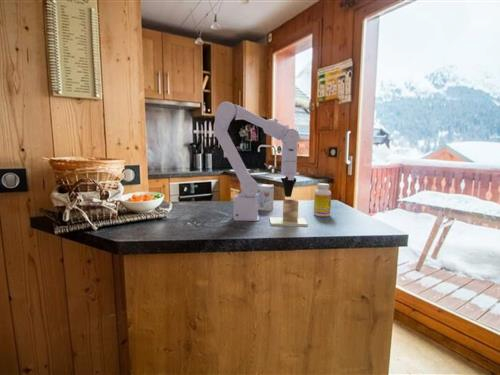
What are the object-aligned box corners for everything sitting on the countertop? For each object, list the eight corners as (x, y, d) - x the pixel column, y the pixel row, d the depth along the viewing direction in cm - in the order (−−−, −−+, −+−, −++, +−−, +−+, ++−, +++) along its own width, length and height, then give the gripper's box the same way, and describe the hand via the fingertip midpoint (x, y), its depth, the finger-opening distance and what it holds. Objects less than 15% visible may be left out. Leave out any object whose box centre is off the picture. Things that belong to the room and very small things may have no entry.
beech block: (283, 221, 106) (284, 201, 105) (282, 219, 110) (283, 199, 108) (297, 221, 106) (298, 201, 105) (296, 219, 110) (296, 199, 108)
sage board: (270, 225, 104) (270, 223, 103) (269, 219, 112) (269, 217, 112) (307, 226, 103) (307, 224, 103) (303, 219, 112) (303, 217, 112)
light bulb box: (246, 209, 129) (246, 184, 127) (250, 206, 135) (251, 183, 134) (270, 211, 126) (270, 186, 124) (273, 208, 132) (274, 184, 131)
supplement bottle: (330, 217, 117) (332, 185, 115) (313, 216, 118) (315, 184, 116) (329, 213, 123) (331, 183, 121) (313, 212, 125) (314, 182, 123)
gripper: (302, 162, 104) (301, 200, 106) (296, 160, 118) (295, 193, 120) (283, 162, 104) (281, 200, 106) (279, 160, 118) (278, 193, 120)
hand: (287, 196), depth 113 cm, fingers closed
